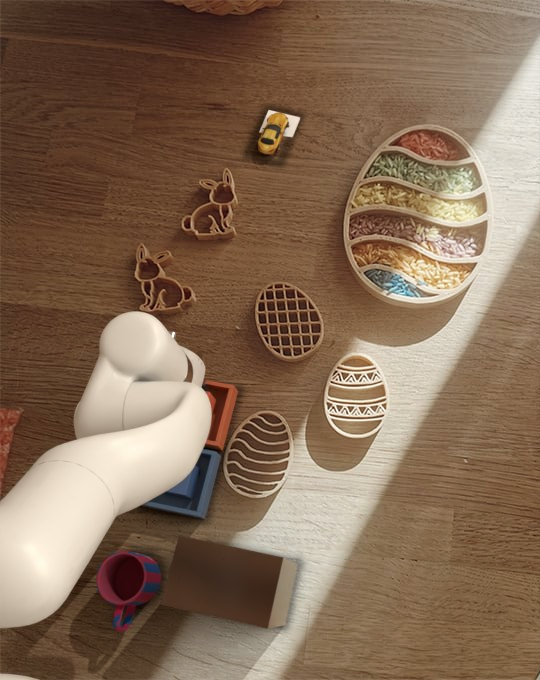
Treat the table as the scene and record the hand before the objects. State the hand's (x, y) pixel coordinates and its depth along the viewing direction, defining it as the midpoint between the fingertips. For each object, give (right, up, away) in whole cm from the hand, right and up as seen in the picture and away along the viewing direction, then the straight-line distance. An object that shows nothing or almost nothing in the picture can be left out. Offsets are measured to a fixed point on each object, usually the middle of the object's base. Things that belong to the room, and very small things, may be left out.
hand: (196, 410), depth 107 cm
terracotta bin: (0, -1, +3) cm, 3 cm away
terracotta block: (0, 0, +1) cm, 1 cm away
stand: (+8, -23, -6) cm, 26 cm away
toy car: (+10, +45, +19) cm, 50 cm away
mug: (-7, -25, -5) cm, 26 cm away
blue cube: (-2, -10, -1) cm, 10 cm away
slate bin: (-2, -10, -1) cm, 11 cm away
